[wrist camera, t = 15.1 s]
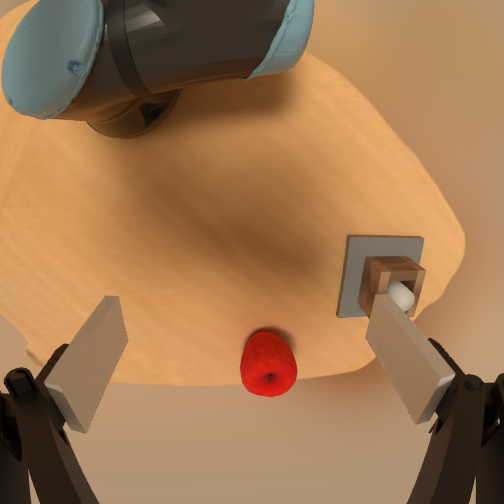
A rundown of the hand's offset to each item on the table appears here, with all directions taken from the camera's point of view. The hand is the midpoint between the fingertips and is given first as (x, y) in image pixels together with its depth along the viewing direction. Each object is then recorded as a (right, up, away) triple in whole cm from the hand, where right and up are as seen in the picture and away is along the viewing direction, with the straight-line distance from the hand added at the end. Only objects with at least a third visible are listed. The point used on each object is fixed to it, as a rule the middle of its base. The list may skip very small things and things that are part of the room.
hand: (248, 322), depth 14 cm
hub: (+22, -1, +31) cm, 38 cm away
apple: (+2, -12, +35) cm, 37 cm away
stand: (+22, -1, +32) cm, 38 cm away
